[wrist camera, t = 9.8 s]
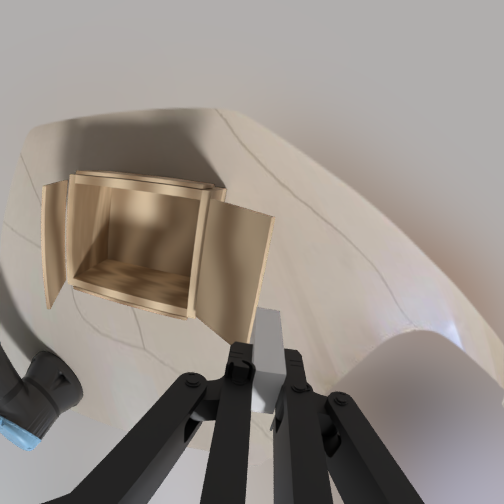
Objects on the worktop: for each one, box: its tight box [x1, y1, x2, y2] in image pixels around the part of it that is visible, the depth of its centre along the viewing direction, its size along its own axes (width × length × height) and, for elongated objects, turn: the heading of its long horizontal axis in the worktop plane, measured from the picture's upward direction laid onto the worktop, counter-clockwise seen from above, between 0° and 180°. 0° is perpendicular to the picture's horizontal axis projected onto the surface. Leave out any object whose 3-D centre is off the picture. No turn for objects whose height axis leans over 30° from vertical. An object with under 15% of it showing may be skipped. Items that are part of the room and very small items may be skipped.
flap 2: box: [195, 199, 275, 345], centre depth 25 cm, size 8×13×1 cm
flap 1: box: [41, 180, 68, 309], centre depth 25 cm, size 8×13×1 cm
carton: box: [66, 170, 227, 320], centre depth 33 cm, size 18×15×10 cm
